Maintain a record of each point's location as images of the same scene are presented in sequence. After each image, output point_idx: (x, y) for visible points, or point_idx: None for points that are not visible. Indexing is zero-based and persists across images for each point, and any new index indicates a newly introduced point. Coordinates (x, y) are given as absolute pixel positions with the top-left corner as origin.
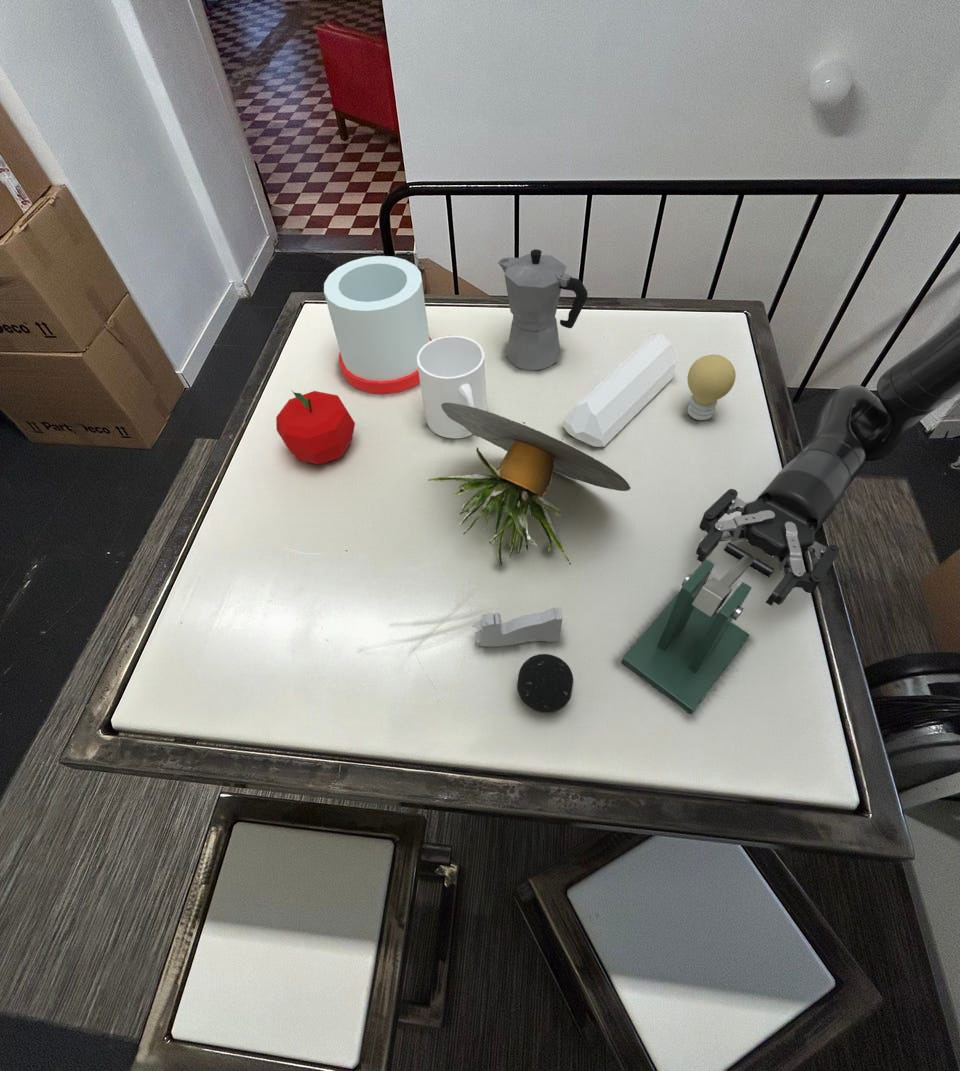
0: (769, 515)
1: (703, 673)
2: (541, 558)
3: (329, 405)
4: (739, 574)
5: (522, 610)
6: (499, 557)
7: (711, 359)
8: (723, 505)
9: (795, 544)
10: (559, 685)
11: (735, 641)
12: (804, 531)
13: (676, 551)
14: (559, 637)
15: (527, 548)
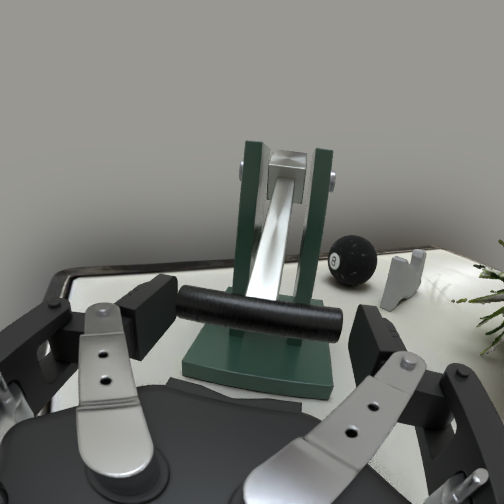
0: (283, 479)
1: None
2: (475, 348)
3: None
4: (267, 217)
5: (425, 313)
6: (484, 319)
7: None
8: (479, 427)
9: (97, 364)
10: (341, 238)
11: (203, 347)
12: (34, 469)
13: (400, 469)
14: (382, 297)
15: (475, 265)
